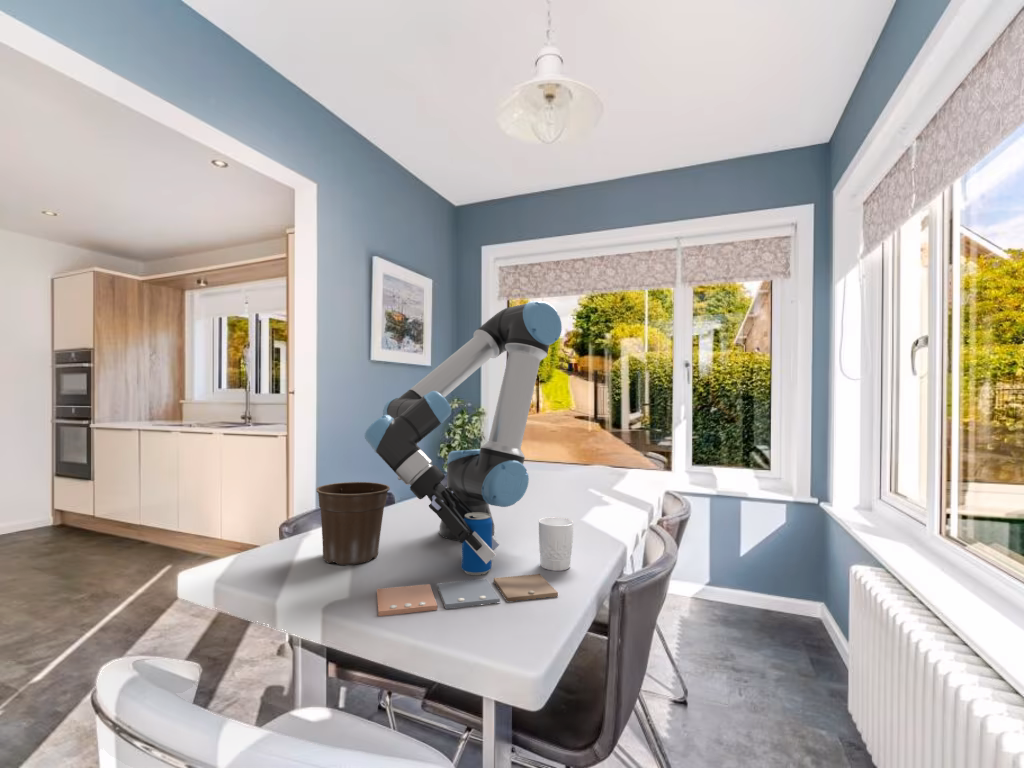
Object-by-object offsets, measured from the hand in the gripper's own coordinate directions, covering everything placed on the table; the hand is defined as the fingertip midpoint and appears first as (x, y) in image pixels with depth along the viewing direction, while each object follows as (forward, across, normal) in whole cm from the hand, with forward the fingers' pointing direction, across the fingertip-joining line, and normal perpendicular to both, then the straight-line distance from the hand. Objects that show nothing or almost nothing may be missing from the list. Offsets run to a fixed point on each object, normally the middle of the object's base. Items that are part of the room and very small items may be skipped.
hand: (493, 553), depth 105 cm
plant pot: (-21, -5, -27) cm, 34 cm away
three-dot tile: (-7, +17, -13) cm, 22 cm away
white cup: (+13, -6, +7) cm, 15 cm away
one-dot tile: (+8, +8, +2) cm, 12 cm away
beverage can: (0, 0, -6) cm, 6 cm away
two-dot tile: (0, +13, -5) cm, 14 cm away
